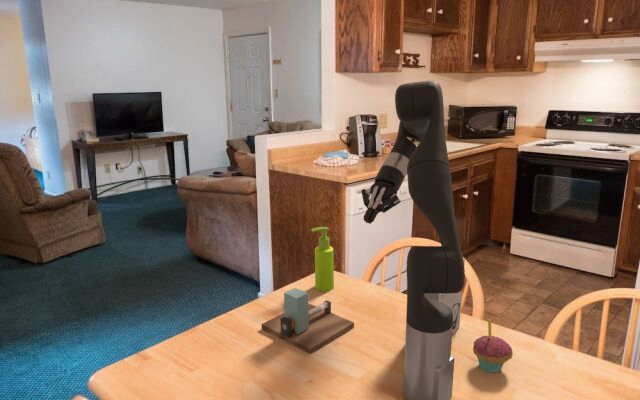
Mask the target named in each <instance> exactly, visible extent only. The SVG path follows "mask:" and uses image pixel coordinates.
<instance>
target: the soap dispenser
mask: <svg viewBox="0 0 640 400" xmlns="http://www.w3.org/2000/svg"><path fill="white" fill-rule="evenodd" d="M310 231H312V233H317V232H321V233H320V234H321V236H319V237H318V246H316V247H315V248H314V278H315V279H314V282H315V285H314V287H315V289H316V291H319V292H330V291H332V290H333V289H334V287H335V286H334V285H335V282H334V281H335V280H334V279H335V278H334V277H335V275H334V274H335V273H334V272H335V271H334V269H335V268H334V266H335V263H334V261H335V259H334V256H335V255H334V253H335V252H334V251H335V250H334V247H332V246H331V245H330V243H331V242H330V240H331V239H330V236H328V235H327V234H328V231H330V227H328V226H318V227H314V228H311V229H310Z"/></svg>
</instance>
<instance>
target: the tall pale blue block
mask: <svg viewBox="0 0 640 400" xmlns="http://www.w3.org/2000/svg"><path fill="white" fill-rule="evenodd" d="M283 302H284V303H283V304H284V313H285V317H286V318H291V319H292V320H293V321H294V323H295V328H294V332H295V333H297V334H299V333H301V332H303V331H305V330H307V329H308V328H309V306H308V303H309V292H307V291H303V290H302V289H300V288H297V287H294V288H292V289H289V290H287V291H284V292H283Z"/></svg>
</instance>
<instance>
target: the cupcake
mask: <svg viewBox="0 0 640 400" xmlns="http://www.w3.org/2000/svg"><path fill="white" fill-rule="evenodd" d="M487 327H488V328H487V329H488V335H484V336H483V335H482V336H480V337H479V338H476V339H475V340H474V341H473V348H472V351H473V354H474V355H475V356H476V358H477V360H478V361H477V362H478V364H479V368H480V369H482V370H483V371H484V372H487V373H493V374H496V373H499V372H501V370H502V369H503V366H504V365H505V363H507V362H508V361H509V360H511V359H512V358H513V349H512V346H511V345H510V343H508V342H506V341H505V340H504V339H503V338H501V337H499V336H496V335H495V336H494V335H492V319H491V317H490V316H489V315H488V319H487Z"/></svg>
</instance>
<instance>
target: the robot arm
mask: <svg viewBox="0 0 640 400" xmlns="http://www.w3.org/2000/svg"><path fill="white" fill-rule="evenodd" d="M394 103H395V104H394V105H395V111H396V116H397V118H398V120H399V124H398V129H397V136H396V139H395V142H394V144H393V146H392V148H391V149H390V151H389V153H388V155H387V156H386V158H385V159H384V161H383V163H382V164H381V166H380V168H379V170H378V172H377V174H376V176H375V178H374V183H373V184H372V185H371V186H370V188H368V189H365V188H363V189H361V197H362V201H363V205H364V206H365V207H366V211H365V213H364V214H363V221H364V222H365V223H366V224H372V223H373V222H374V221H375V220H376V218H377V216H378V214H379V213H381V212H382V213H383V214H384V213H386V212H388V211H389V210H391V209H392V208H394V207H396V206H397V205H399V204H400V203H401V199H400V197H399V196H398V191H399V190H400V188H401V186H402V184H403V182H404V181H405V178H406V176H407V186H408V187H407V188H408V194H409V196H410V198H411V200H412V202H413V203H414V204H415V205H416V207H417V208H418V210H420V211H421V213H422V214H423V215H424V216H425V217H426V218H427V220H428V221H429V223H430V224H431V225H432V226H433V229H434V230H435V233H436V235H437V237H438V239H439V243H440V246H439V245H431V246H430V245H415V246H412V247H411V248H410V249H409V250H408V252H407V256H406V258H407V259H406V291H407V293H406V315H405V316H406V318H405V319H406V320H405V321H406V322H405V344H404V345H405V346H404V365H403V366H404V369H403V372H404V373H403V396H404V398H405V399H406V400H451V399H452V398H453V386H454V384H453V383H454V371H455V357H454V356H451V352H452V338H453V337H452V336H453V334H452V326H453V313H452V310H451V309H450V308H449V307H448V306H447V305H445V304H444V303H442V302H440V301H437V300H434V299H432V298H429V297H428V296H426V295H425V293H459V292H460V291H461V290H462V291H463V288H464V285H465V281H466V280H465V279H466V273H465V264H464V261H463V258H464V256H463V251H462V247H461V242H460V241H461V240H460V237H459V232H458V226H457V225H458V224H457V220H456V216H455V215H456V214H455V206H454V205H455V204H454V193H453V183H452V174H451V172H452V171H451V165H450V159H449V155H448V148H447V147H448V146H447V141H446V127H445V110H444V108H445V107H444V96H443V90H442V86H441V85H440V83H439V82H438V81H436V80H423V81H414V82H408V83H403V84H399V86H398V87H397V88H396V90H395V93H394ZM412 140H413V141H416V142H418V145H416V144H415V143H414V142H413V141H412Z"/></svg>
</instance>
